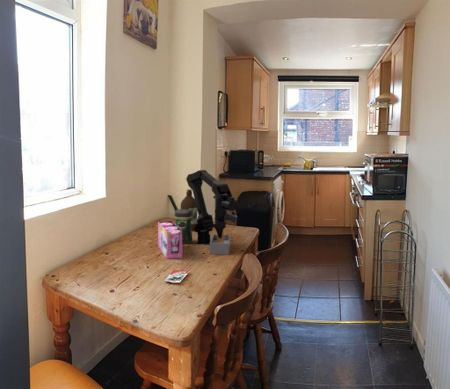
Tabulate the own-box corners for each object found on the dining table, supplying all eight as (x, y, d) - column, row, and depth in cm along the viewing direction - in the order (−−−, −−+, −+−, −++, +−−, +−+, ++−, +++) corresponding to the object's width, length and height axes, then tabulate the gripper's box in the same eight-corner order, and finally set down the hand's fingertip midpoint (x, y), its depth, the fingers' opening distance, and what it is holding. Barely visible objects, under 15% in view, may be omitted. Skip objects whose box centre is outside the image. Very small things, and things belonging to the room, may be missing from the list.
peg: (223, 242, 219) (223, 225, 218) (216, 242, 220) (217, 225, 218) (224, 241, 223) (224, 224, 221) (217, 240, 223) (217, 224, 222)
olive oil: (177, 229, 263) (176, 189, 259) (190, 226, 270) (190, 188, 266) (187, 232, 255) (187, 191, 251) (201, 229, 262) (201, 189, 258)
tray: (209, 253, 213) (209, 243, 212) (212, 244, 231) (212, 234, 230) (228, 254, 213) (228, 243, 212) (230, 244, 230) (230, 234, 229)
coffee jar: (193, 240, 237) (193, 208, 234) (190, 244, 229) (190, 211, 226) (176, 240, 238) (176, 207, 235) (173, 243, 231) (172, 210, 228)
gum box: (183, 258, 206) (183, 231, 204) (167, 259, 203) (167, 232, 201) (172, 245, 228) (172, 220, 226) (157, 246, 226) (157, 221, 223)
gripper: (235, 211, 209) (235, 242, 211) (237, 204, 227) (236, 233, 230) (213, 211, 209) (212, 241, 212) (216, 204, 228) (216, 232, 230)
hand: (220, 237), depth 221 cm, fingers closed on peg, 3 cm apart
